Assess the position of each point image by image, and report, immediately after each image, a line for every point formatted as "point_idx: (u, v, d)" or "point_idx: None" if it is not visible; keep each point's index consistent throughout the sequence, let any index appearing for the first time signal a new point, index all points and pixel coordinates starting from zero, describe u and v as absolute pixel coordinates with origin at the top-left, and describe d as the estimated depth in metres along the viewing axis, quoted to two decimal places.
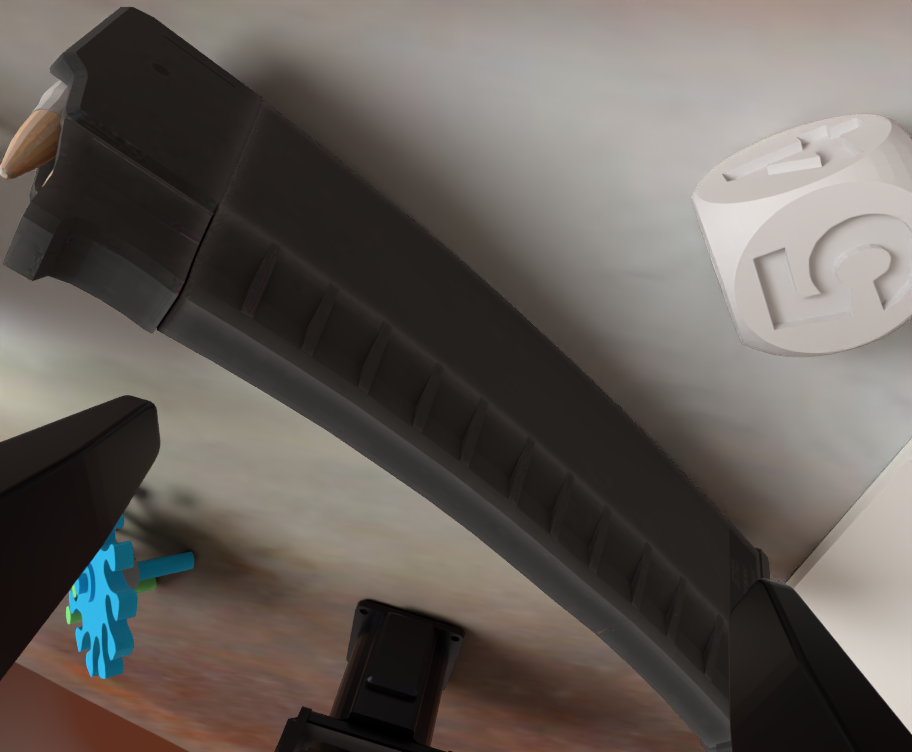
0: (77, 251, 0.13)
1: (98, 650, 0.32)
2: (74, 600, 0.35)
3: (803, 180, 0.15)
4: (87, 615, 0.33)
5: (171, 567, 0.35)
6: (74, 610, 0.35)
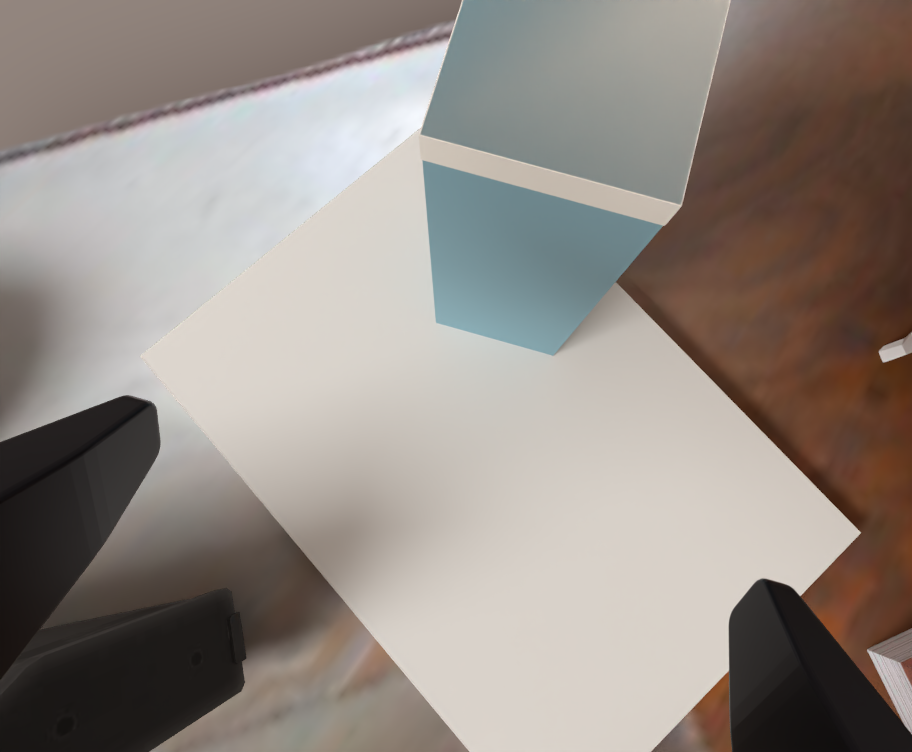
0: None
1: None
2: None
3: None
4: None
5: None
6: None
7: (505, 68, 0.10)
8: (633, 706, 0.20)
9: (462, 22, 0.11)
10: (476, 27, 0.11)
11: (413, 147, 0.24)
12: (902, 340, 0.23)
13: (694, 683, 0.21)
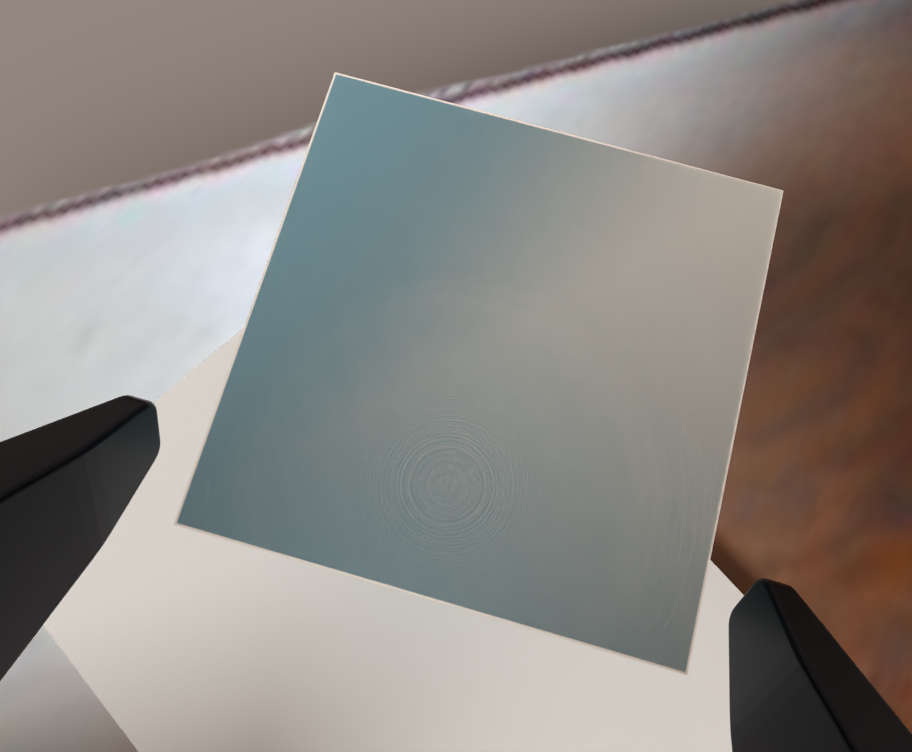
0: None
1: None
2: None
3: None
4: None
5: None
6: None
7: (349, 380, 0.05)
8: None
9: (272, 285, 0.06)
10: (297, 297, 0.06)
11: None
12: None
13: None
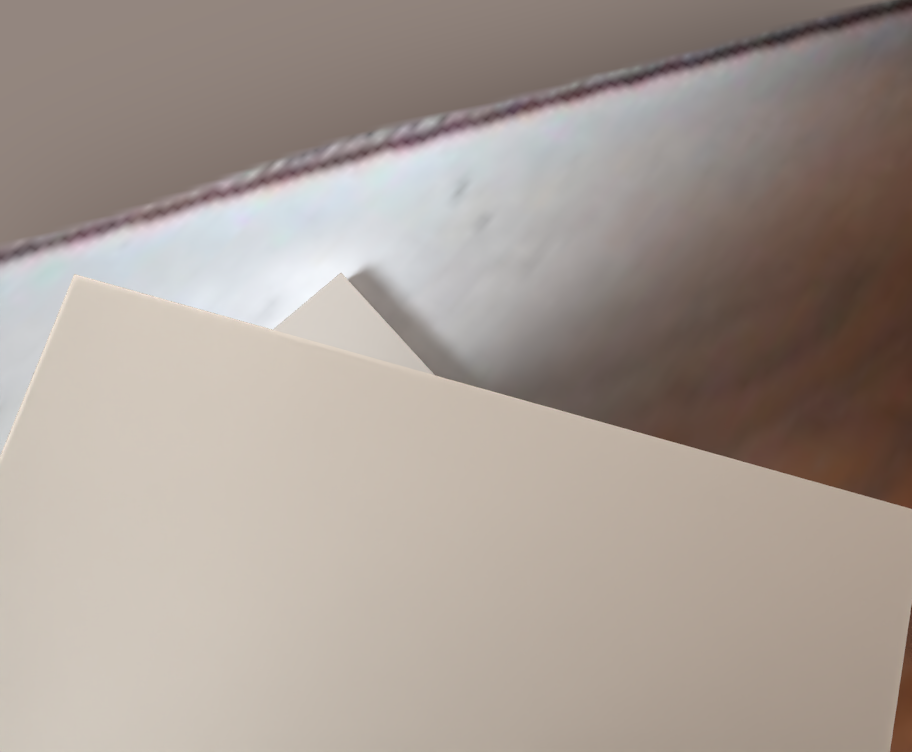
0: None
1: None
2: None
3: None
4: None
5: None
6: None
7: None
8: None
9: None
10: None
11: None
12: None
13: None
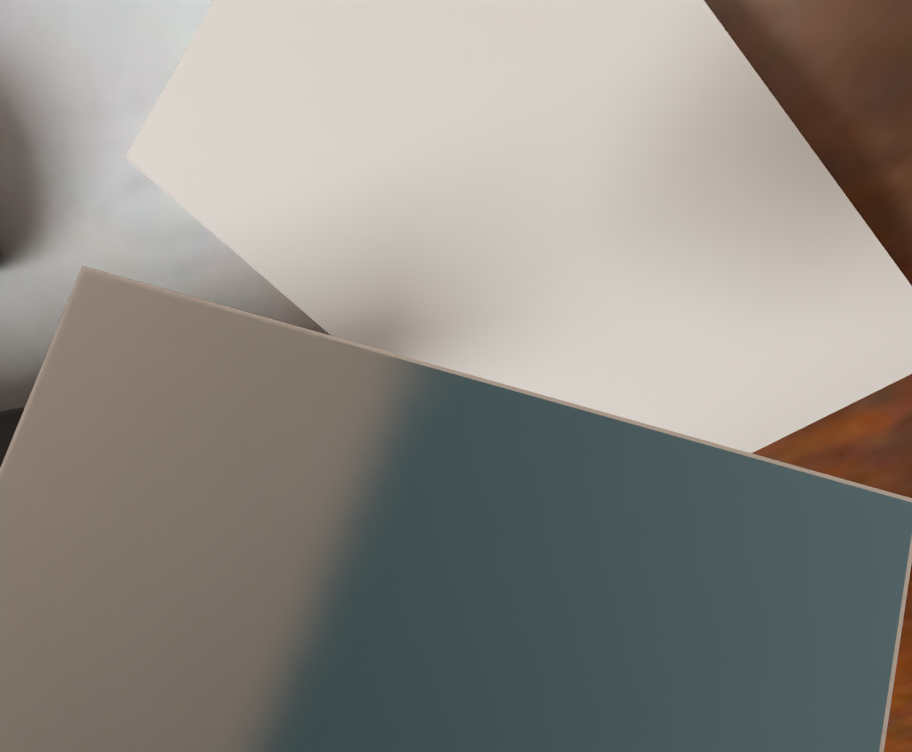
0: None
1: None
2: None
3: None
4: None
5: None
6: None
7: None
8: None
9: None
10: None
11: None
12: None
13: None
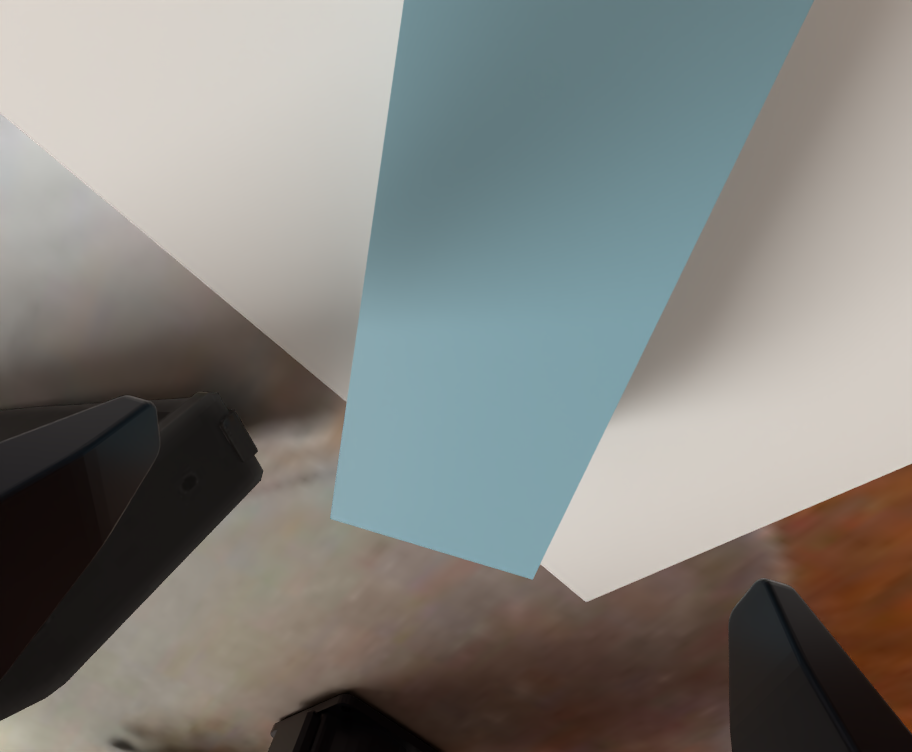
0: None
1: None
2: None
3: None
4: None
5: None
6: None
7: None
8: (695, 515, 0.17)
9: None
10: None
11: None
12: None
13: (782, 503, 0.16)
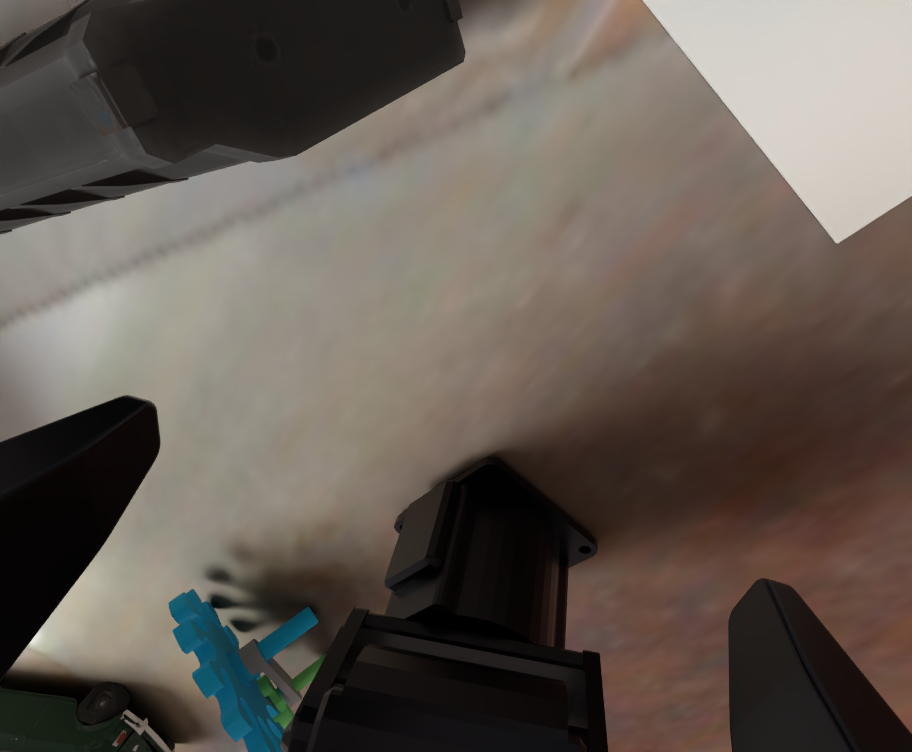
0: None
1: None
2: None
3: None
4: None
5: (291, 629, 0.32)
6: None
7: None
8: None
9: None
10: None
11: None
12: None
13: None
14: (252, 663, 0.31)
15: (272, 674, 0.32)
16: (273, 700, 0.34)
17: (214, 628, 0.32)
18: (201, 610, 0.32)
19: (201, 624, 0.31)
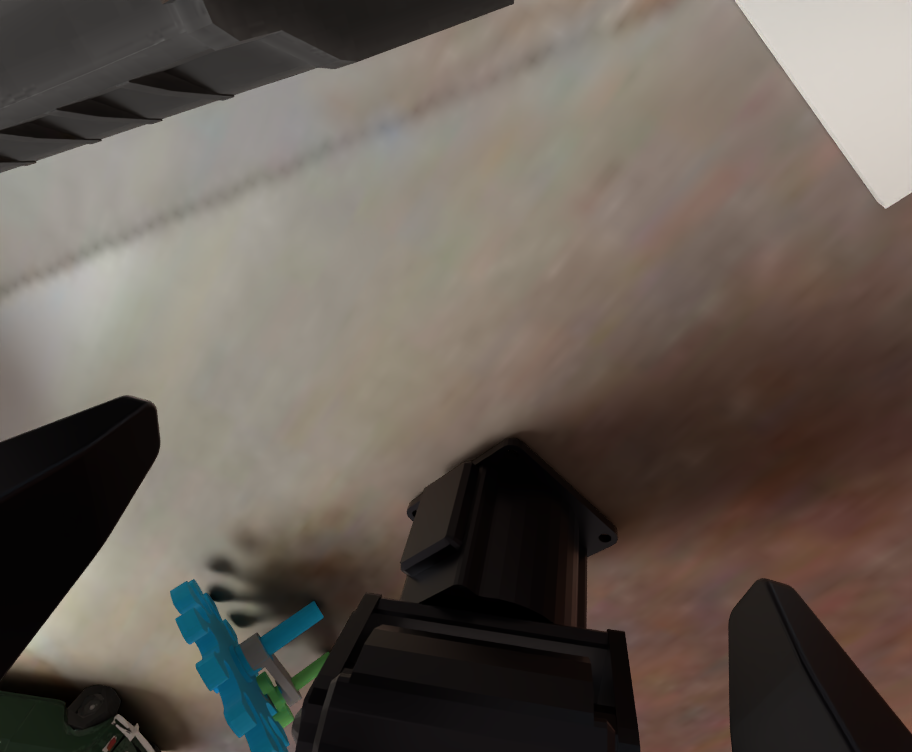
0: None
1: None
2: None
3: None
4: None
5: (296, 623, 0.31)
6: None
7: None
8: None
9: None
10: None
11: None
12: None
13: None
14: (255, 657, 0.30)
15: (274, 670, 0.31)
16: (272, 698, 0.33)
17: (215, 620, 0.31)
18: (202, 601, 0.31)
19: (203, 615, 0.30)
